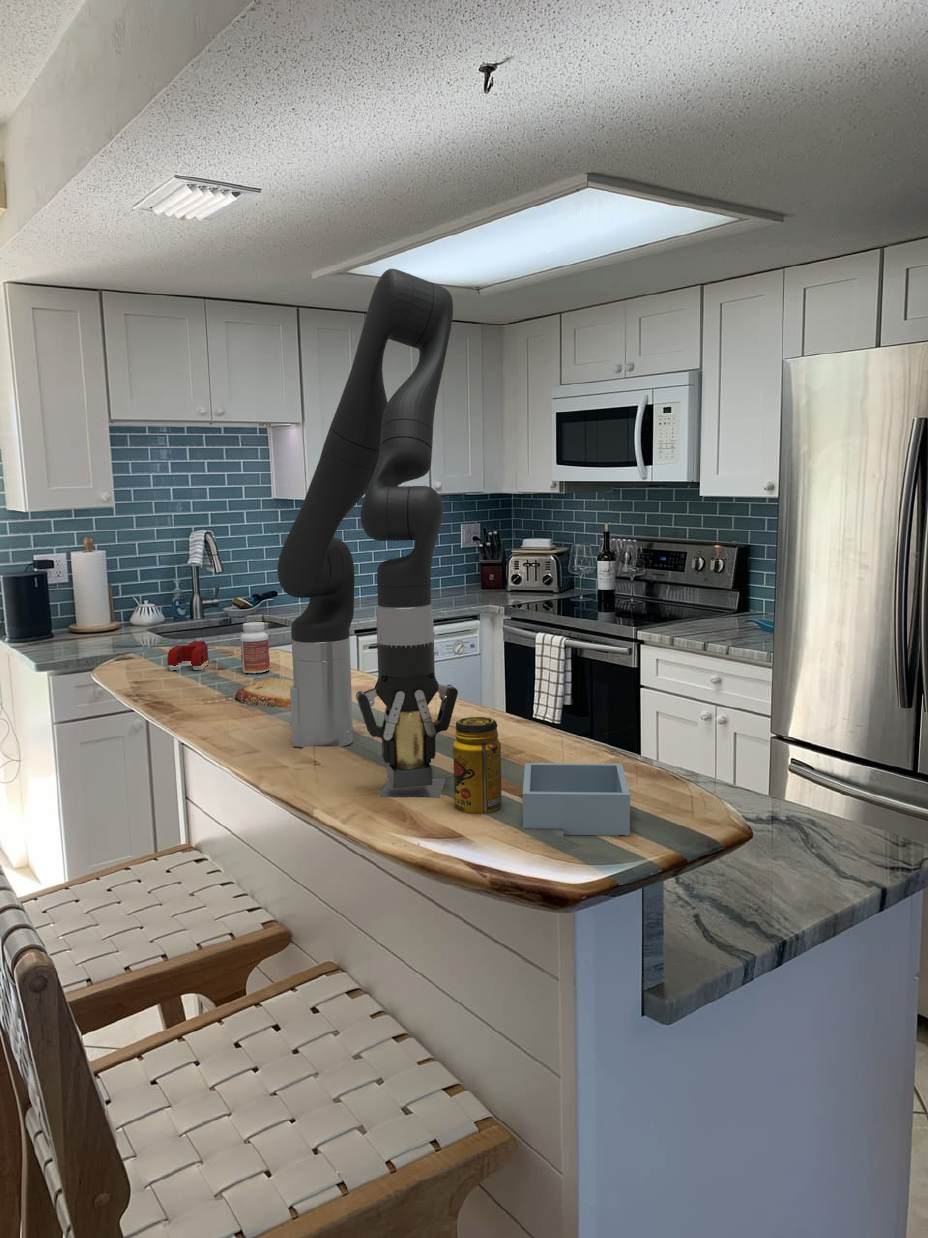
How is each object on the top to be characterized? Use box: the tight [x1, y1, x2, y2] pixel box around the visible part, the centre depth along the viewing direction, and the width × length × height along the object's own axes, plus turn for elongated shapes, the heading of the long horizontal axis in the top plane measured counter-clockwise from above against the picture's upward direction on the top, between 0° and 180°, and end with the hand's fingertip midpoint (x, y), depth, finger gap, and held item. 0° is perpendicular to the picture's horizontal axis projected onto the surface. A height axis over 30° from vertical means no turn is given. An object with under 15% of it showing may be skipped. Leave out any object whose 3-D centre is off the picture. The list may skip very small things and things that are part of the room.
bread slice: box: [234, 676, 294, 708], centre depth 191 cm, size 18×18×4 cm
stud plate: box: [378, 778, 447, 799], centre depth 132 cm, size 8×8×1 cm
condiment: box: [452, 716, 503, 815], centre depth 124 cm, size 7×8×12 cm
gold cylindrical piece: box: [386, 710, 433, 789], centre depth 131 cm, size 5×5×10 cm
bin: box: [522, 762, 631, 837], centre depth 121 cm, size 13×13×5 cm
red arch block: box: [167, 640, 209, 666], centre depth 227 cm, size 16×7×5 cm, turn 1°
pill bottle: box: [239, 621, 271, 673], centre depth 217 cm, size 6×6×11 cm
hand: (408, 763), depth 131 cm, fingers closed on gold cylindrical piece, 4 cm apart
